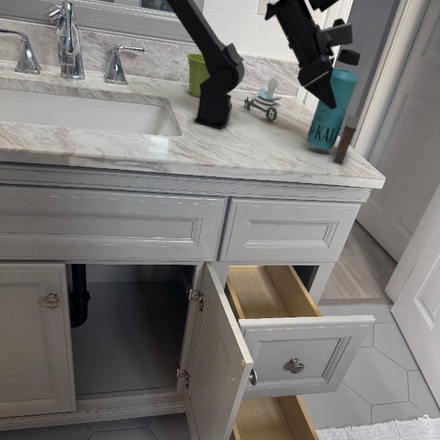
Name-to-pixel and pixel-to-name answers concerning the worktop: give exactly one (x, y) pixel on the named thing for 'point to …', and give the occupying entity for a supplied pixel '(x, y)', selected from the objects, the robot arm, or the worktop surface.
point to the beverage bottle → (343, 89)
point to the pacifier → (268, 93)
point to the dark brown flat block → (345, 139)
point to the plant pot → (196, 72)
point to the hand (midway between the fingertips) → (335, 102)
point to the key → (251, 103)
